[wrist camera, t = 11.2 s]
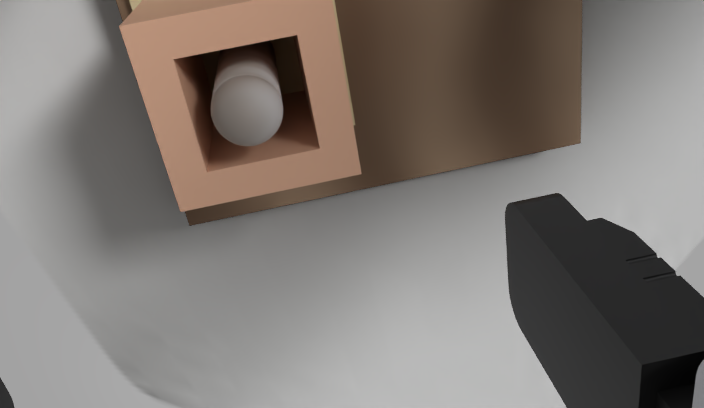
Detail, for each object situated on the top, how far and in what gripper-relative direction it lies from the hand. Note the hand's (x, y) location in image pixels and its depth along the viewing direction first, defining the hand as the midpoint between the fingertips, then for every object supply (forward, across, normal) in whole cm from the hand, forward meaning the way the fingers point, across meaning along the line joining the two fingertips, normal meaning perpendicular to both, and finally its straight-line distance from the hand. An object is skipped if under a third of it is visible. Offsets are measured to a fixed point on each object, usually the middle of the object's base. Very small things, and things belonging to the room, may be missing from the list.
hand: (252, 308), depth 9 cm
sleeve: (+16, 0, 0) cm, 16 cm away
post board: (+17, -4, 0) cm, 18 cm away
